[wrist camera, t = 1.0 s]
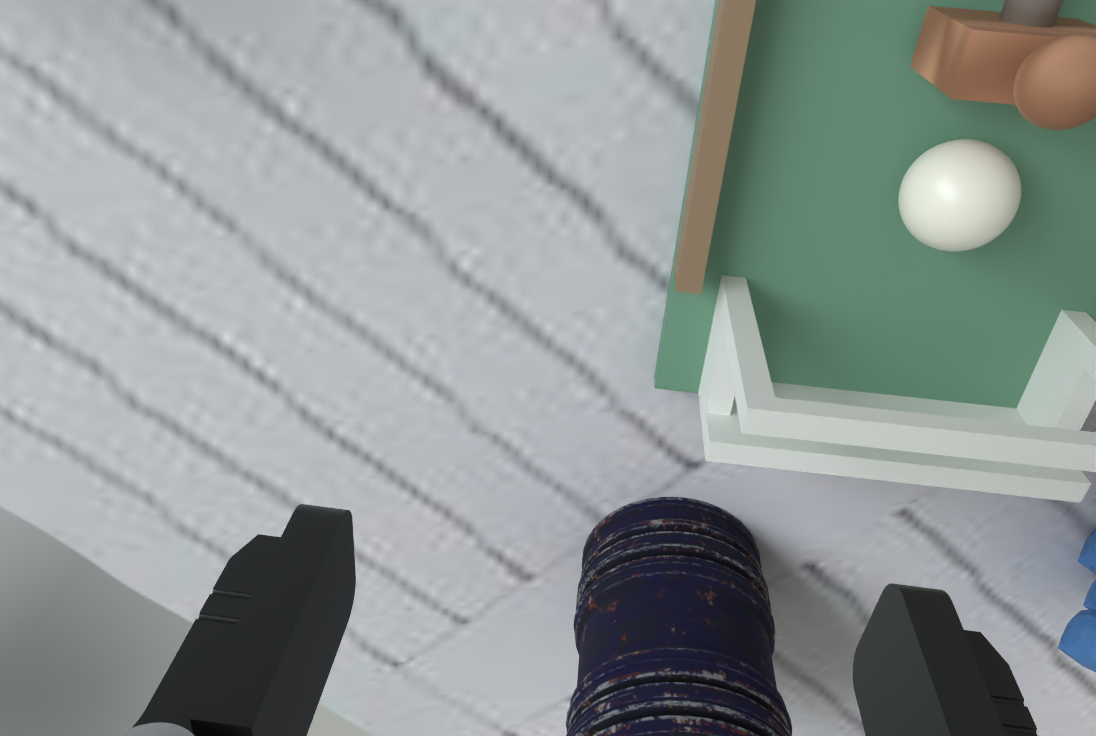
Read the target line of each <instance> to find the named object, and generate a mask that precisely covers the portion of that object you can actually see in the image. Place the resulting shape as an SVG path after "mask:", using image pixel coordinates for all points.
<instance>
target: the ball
mask: <svg viewBox="0 0 1096 736" xmlns="http://www.w3.org/2000/svg"><path fill="white" fill-rule="evenodd" d="M1020 200H1021V181H1020V177H1019V173H1018V171H1017V169H1016V167H1015V165H1014V163H1013V162H1012V161H1011V159H1010V158H1009V157H1008V156H1007V155H1006V154H1005V153H1004V152H1003V151H1001V150H1000V149H998V148H997V147H995V146H993V145H991V144H989V143H986V142H983V141H979V140H973V139H959V140H952V141H947V142H944V143H941V144H939V145H936V146H934V147H932V148H931V149H929V150H927V151H926V152H924V153H923V154H922V155H921V156H919V157H918V158H917V159H916V160H915V161H914V162H913V164H912V165H911V166H910V167H909V169H908V170H907V172H906V174H905V175H904V177H903V180H902V182H901V186H900V190H899V196H898V204H899V211H900V215H901V218H902V220H903V222H904V224H905V226H906V228H907V229H908V230H909V232H910V233H911V234H912V235H913V236H914V237H915V238H916V239H917V240H919V241H920V242H922V243H923V244H925V245H927V246H929V247H932V248H935V249H938V250H943V251H951V252H957V251H966V250H971V249H974V248H978V247H980V246H983V245H985V244H987V243H988V242H990V241H992V240H993V239H995V238H996V237H997V236H999V235H1000V234H1001V233H1002V232H1003V231H1004V230H1005V229H1006V228H1007V227H1008V226H1009V224H1010V223H1011V221H1012V220H1013V218H1014V217H1015V214H1016V212H1017V210H1018V207H1019V204H1020Z"/></svg>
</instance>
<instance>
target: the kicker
mask: <svg viewBox="0 0 1096 736" xmlns="http://www.w3.org/2000/svg"><path fill="white" fill-rule="evenodd" d="M1062 2H1063V0H1005V2H1004V5H1003V8H1002V11H1001V12H995V11H984V10H972V9H961V8H949V7H938V6H928V8H927V11H926V15H925V18H924V21H923V25H922V28H921V32H920V35H919V38H918V42H917V45H916V49H915V52H914V56H913V59H912V62H911V66H910V67H912V68H913V69H914V70H915V71H917V72H918V73H919V74H920V75H922V76H923V77H924V78H925V79H927V80H928V81H929V82H930V83H932V84H933V85H934V86H935V87H937V88H938V89H939V90H940V91H942V92H943V93H944V94H945V95H947V96H948V97H949V98H950V99H959V100H970V101H981V102H991V103H1002V104H1013V105H1016V106H1017V108H1018V110H1019V112H1020V113H1021V115H1022V116H1023V117H1024V118H1025V119H1026V120H1028V121H1029V122H1030V123H1032V124H1034V125H1036V126H1038V127H1041V128H1044V129H1050V130H1065V129H1071V128H1075V127H1078V126H1080V125H1083V124H1085V123H1087V122H1089V121H1091V120H1092V119H1094V118H1095V117H1096V25H1093V24H1090V23H1088V22H1085V21H1083V20H1080V19H1076V18H1064V17H1057V16H1058V13H1059V10H1060V8H1061V5H1062Z"/></svg>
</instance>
